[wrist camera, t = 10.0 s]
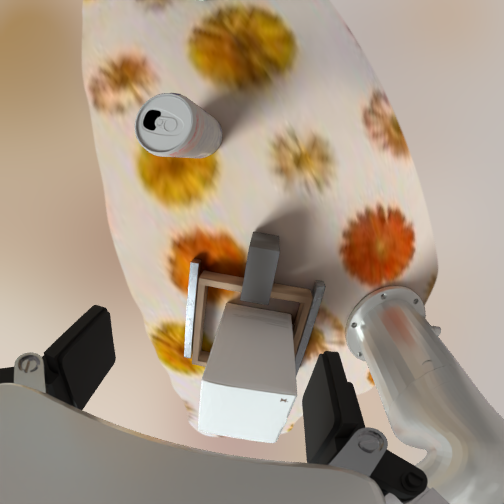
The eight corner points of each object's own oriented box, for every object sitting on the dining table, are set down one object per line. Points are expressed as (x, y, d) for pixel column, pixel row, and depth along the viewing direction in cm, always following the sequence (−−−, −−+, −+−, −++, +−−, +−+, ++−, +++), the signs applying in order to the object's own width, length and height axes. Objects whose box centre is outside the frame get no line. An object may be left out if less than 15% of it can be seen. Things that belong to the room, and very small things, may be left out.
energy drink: (188, 109, 29) (147, 84, 18) (230, 122, 30) (206, 100, 18) (172, 149, 31) (123, 145, 20) (212, 164, 31) (180, 165, 20)
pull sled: (321, 244, 33) (331, 261, 27) (286, 369, 39) (287, 397, 33) (209, 223, 33) (196, 236, 28) (195, 353, 39) (185, 379, 34)
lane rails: (323, 281, 35) (325, 286, 33) (295, 370, 39) (295, 376, 38) (193, 258, 35) (190, 262, 34) (186, 350, 40) (184, 356, 38)
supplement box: (225, 300, 37) (199, 377, 22) (292, 312, 36) (300, 394, 22) (217, 352, 39) (195, 432, 25) (277, 363, 39) (277, 445, 25)
